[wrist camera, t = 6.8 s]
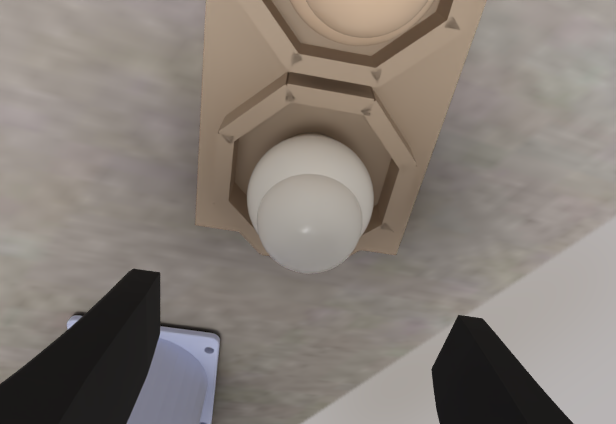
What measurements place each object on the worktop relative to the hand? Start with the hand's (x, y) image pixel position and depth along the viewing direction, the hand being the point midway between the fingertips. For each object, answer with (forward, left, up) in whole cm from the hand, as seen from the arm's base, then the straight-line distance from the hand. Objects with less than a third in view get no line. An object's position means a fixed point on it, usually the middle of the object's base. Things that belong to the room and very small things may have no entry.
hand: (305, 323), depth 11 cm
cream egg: (0, 0, -8) cm, 8 cm away
